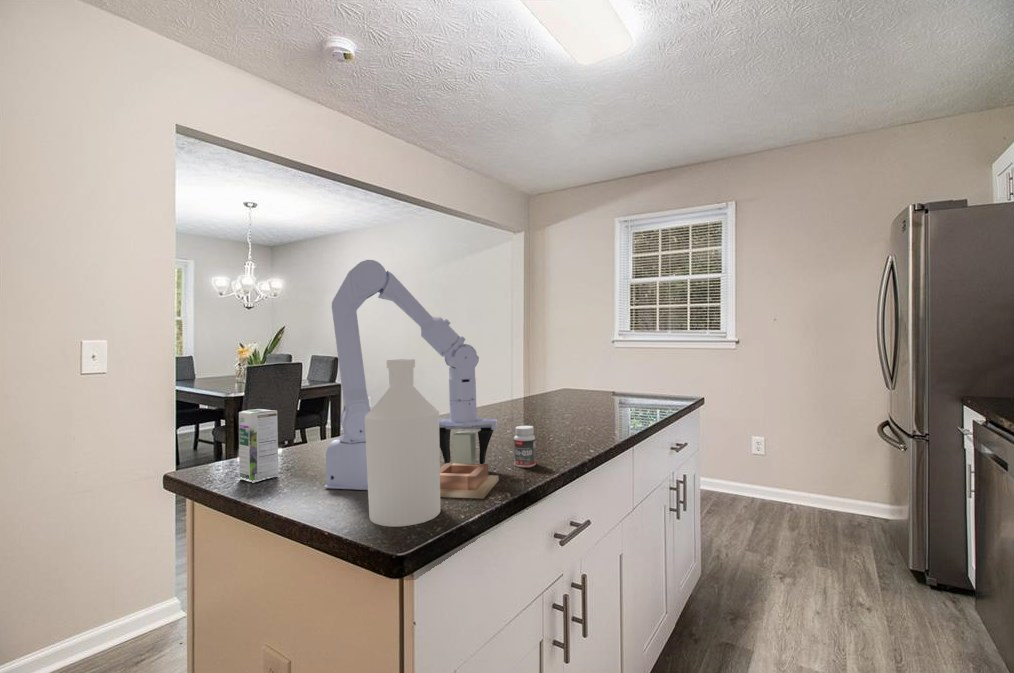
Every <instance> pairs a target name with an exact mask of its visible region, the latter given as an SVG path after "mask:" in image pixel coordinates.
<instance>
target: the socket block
mask: <svg viewBox="0 0 1014 673" xmlns="http://www.w3.org/2000/svg"><path fill="white" fill-rule="evenodd" d="M498 482H500V480H499V475H494V474H493V475H492V474H490V475H489V464H488V463H487V464H486V463H484V464H480V463H477V464H460V463H453V462H449V463H446V464H445V463H444V464H443V465H441V466H440V498H457V499H458V498H460V499H480V500H481V499H485V498H486V497H487V495H488V494H489V493H490V491H491V490H492V489H493V488H494V487H495V486H496V485H497V483H498Z"/></svg>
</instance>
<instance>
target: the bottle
mask: <svg viewBox="0 0 1014 673" xmlns="http://www.w3.org/2000/svg"><path fill="white" fill-rule="evenodd" d="M414 368H416V359H415V358H406V359H405V358H404V359H386V369H388V379H389V380H388V382H389V387H388V389H387V391H385V392H384V394H383V396H381V398H379V400H378V401H377V403H376V404H375V405H374V406H373V407H372V408H370V409H371V410H370V411H369V412H368V413H367V414H366V415H365V435H366V457H367V478H368V490H367V496H368V499H367V500H368V514H369V515H368V516H369V518H368V519H369V520H370V522H371V523H373V524H376V525H379V526H383V527H407V526H412V525H415V526H416V525H418V524H419V525H420V524H422V523H426V522H428V521H430V520H433V519H435V518H437V517H438V515H439V514H440V513H441V497H440V468H441V460H440V459H441V456H440V455H441V454H440V453H441V452H440V451H441V449H440V442H439V419H440V412H439V410H438V409H437V408H436V407H434V405H433V404H431V403H430V402H429V401H428V400H427V399H426V398H425V397H424V395H423V394H421V393H420V391H419V390H418V389H417V388H416V387H415V386H414Z"/></svg>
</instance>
